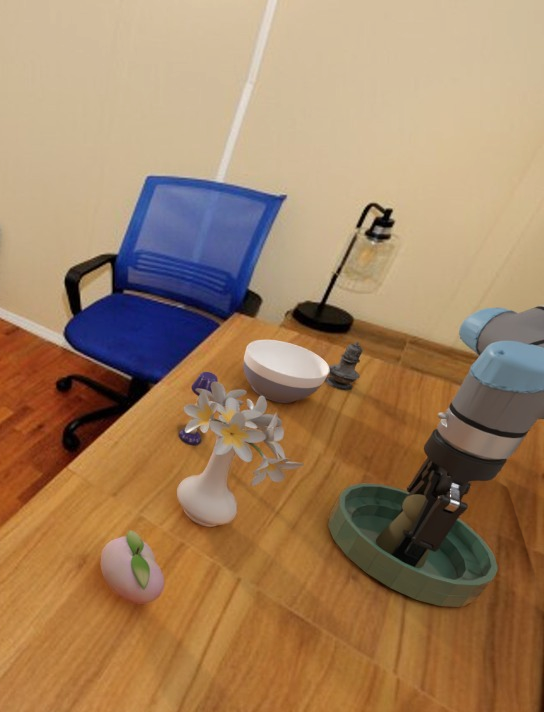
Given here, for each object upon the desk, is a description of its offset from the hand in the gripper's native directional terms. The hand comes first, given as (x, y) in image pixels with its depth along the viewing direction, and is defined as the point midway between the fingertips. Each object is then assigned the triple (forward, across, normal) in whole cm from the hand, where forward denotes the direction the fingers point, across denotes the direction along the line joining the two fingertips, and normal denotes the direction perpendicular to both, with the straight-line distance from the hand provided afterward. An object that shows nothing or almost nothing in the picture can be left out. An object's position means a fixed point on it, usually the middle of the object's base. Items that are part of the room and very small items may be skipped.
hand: (399, 549), depth 82 cm
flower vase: (+1, +11, -26) cm, 28 cm away
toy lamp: (+1, -8, -33) cm, 34 cm away
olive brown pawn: (0, 0, 0) cm, 0 cm away
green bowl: (+1, 0, 0) cm, 1 cm away
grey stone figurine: (+1, -51, -9) cm, 52 cm away
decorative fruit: (+1, +34, -33) cm, 47 cm away
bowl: (+1, -38, -21) cm, 43 cm away
